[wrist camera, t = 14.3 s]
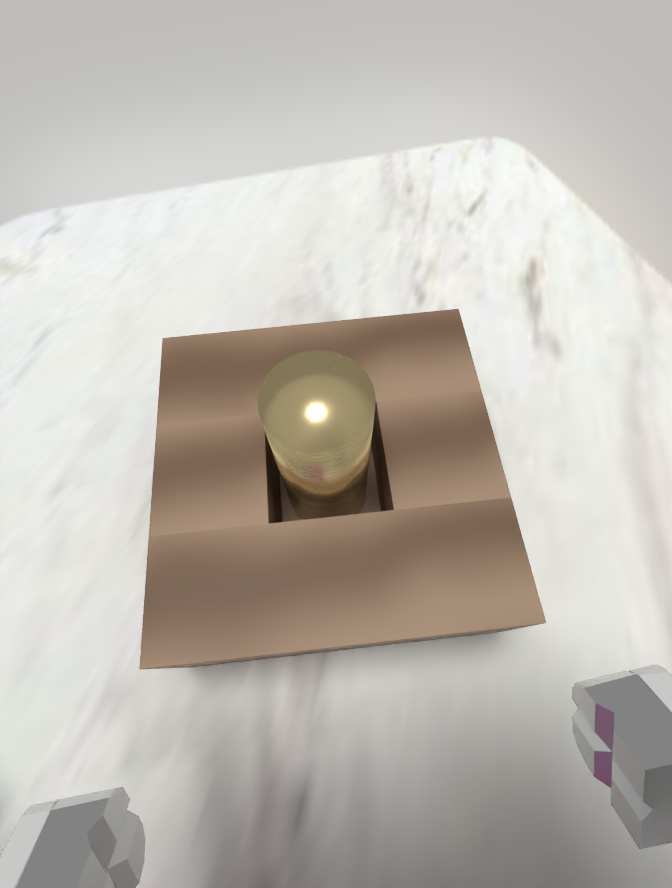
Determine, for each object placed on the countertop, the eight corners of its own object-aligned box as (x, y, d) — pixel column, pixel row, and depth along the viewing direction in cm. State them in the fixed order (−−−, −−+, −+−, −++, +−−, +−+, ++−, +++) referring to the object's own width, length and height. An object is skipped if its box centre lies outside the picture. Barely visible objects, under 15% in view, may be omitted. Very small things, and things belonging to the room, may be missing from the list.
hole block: (498, 632, 23) (546, 622, 17) (190, 667, 22) (139, 669, 17) (437, 374, 29) (458, 308, 23) (198, 399, 29) (162, 338, 23)
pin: (370, 527, 24) (383, 445, 15) (292, 535, 24) (259, 458, 15) (360, 456, 26) (367, 344, 17) (288, 464, 25) (255, 355, 16)
